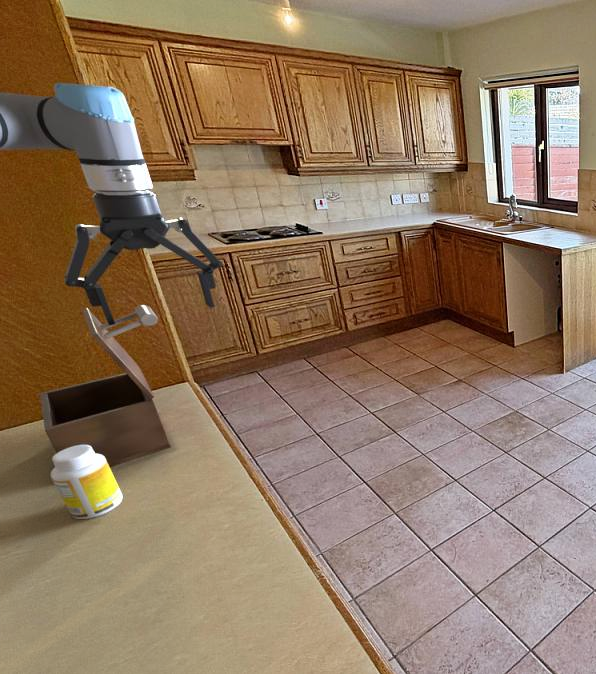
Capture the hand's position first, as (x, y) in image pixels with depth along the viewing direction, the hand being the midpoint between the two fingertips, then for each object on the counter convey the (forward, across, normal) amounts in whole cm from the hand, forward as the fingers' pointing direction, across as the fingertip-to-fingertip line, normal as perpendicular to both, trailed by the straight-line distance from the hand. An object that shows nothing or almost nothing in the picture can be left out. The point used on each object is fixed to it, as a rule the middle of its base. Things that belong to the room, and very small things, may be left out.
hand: (163, 313), depth 85 cm
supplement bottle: (+22, -16, -19) cm, 33 cm away
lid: (+6, -8, 0) cm, 9 cm away
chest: (+22, -12, 0) cm, 25 cm away
